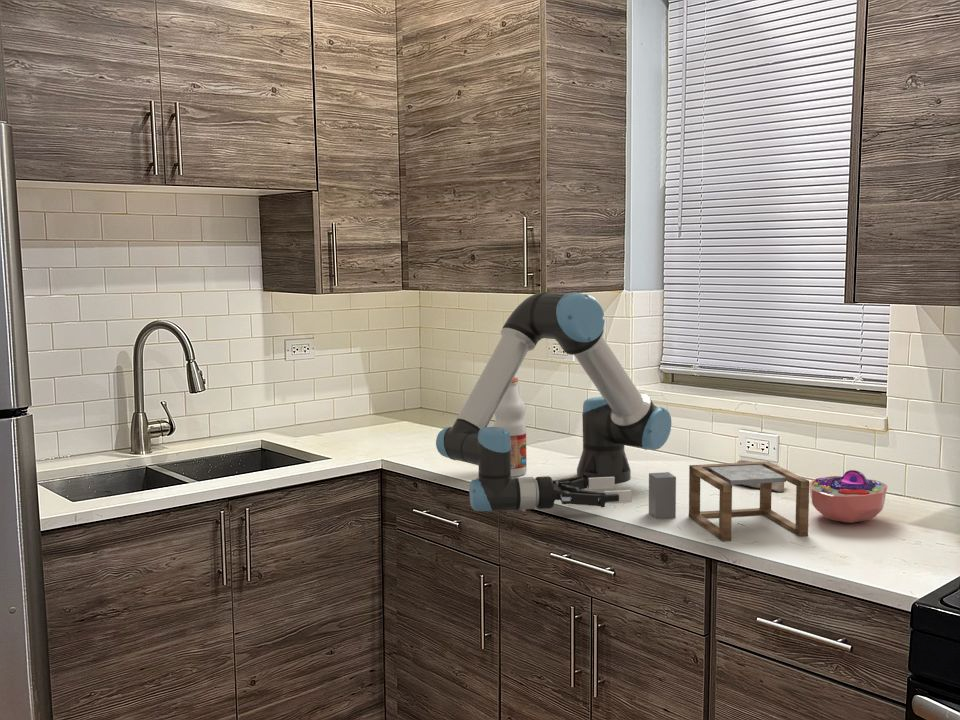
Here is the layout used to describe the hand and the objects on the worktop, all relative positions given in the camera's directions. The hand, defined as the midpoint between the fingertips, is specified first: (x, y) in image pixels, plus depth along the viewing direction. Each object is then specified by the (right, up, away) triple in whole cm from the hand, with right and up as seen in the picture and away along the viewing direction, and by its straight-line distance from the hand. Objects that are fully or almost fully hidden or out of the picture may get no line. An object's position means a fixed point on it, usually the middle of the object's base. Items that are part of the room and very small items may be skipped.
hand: (622, 489), depth 223 cm
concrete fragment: (+41, -4, +29) cm, 50 cm away
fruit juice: (-25, -2, +47) cm, 54 cm away
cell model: (+52, -7, -3) cm, 53 cm away
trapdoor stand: (+27, -7, -7) cm, 29 cm away
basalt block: (+10, -7, +2) cm, 12 cm away
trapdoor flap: (+27, +4, -8) cm, 28 cm away
